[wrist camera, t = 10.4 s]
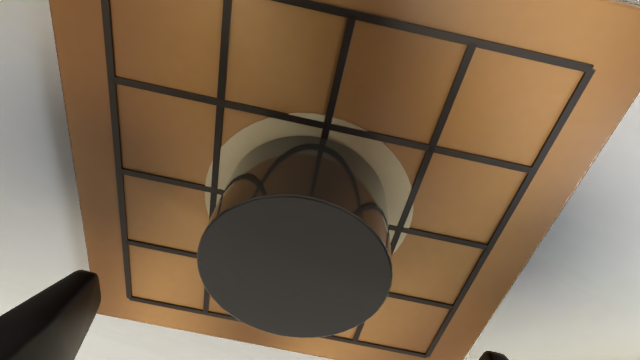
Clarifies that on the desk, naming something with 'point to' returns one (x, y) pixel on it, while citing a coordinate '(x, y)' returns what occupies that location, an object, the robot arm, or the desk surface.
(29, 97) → the desk surface
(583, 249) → the desk surface
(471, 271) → the grid board
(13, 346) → the robot arm
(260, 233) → the grey short cylinder
